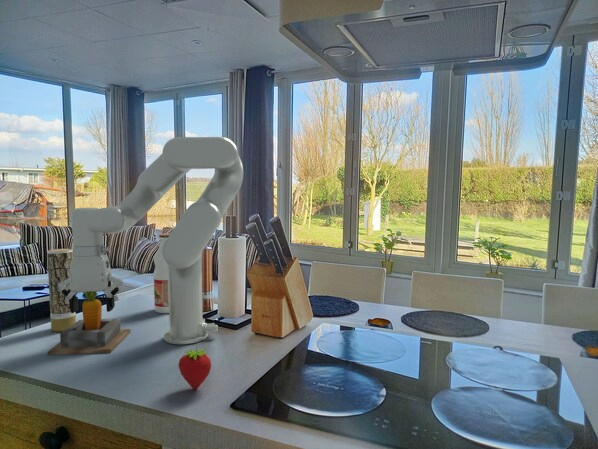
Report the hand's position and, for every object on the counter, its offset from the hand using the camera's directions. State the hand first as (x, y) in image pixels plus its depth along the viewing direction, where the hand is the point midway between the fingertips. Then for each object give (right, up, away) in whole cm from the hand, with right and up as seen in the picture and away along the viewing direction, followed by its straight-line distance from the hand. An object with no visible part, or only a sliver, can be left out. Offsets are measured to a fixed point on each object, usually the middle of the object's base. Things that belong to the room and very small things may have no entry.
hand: (92, 311), depth 113 cm
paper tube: (-15, -9, +12) cm, 22 cm away
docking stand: (0, -9, +1) cm, 9 cm away
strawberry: (+36, -11, -26) cm, 46 cm away
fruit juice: (+11, -7, +33) cm, 35 cm away
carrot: (0, -8, +1) cm, 8 cm away
